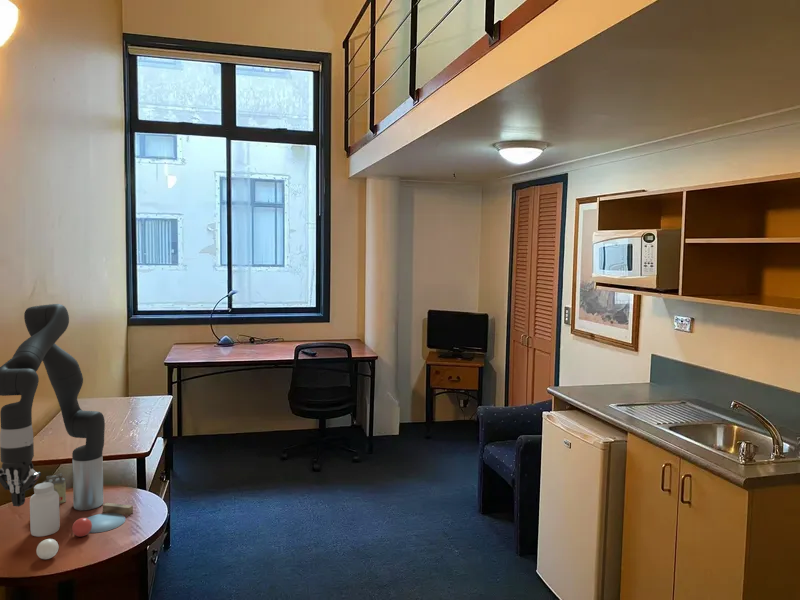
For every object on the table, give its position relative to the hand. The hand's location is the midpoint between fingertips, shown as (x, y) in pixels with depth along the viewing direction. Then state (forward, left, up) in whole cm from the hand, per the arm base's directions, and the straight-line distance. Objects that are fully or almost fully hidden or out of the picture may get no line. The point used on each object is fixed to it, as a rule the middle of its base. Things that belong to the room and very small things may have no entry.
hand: (18, 505), depth 160 cm
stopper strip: (-26, +31, -20) cm, 45 cm away
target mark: (-21, +25, -20) cm, 38 cm away
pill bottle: (-25, +10, -20) cm, 33 cm away
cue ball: (-6, +7, -17) cm, 20 cm away
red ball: (-15, +18, -17) cm, 29 cm away
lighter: (-47, +16, -20) cm, 53 cm away
